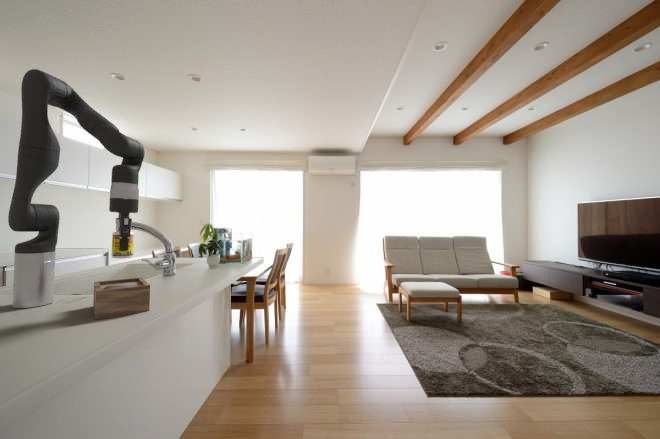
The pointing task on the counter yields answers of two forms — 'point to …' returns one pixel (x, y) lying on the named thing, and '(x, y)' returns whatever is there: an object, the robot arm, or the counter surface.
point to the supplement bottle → (115, 246)
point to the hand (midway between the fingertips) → (122, 249)
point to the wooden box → (120, 297)
